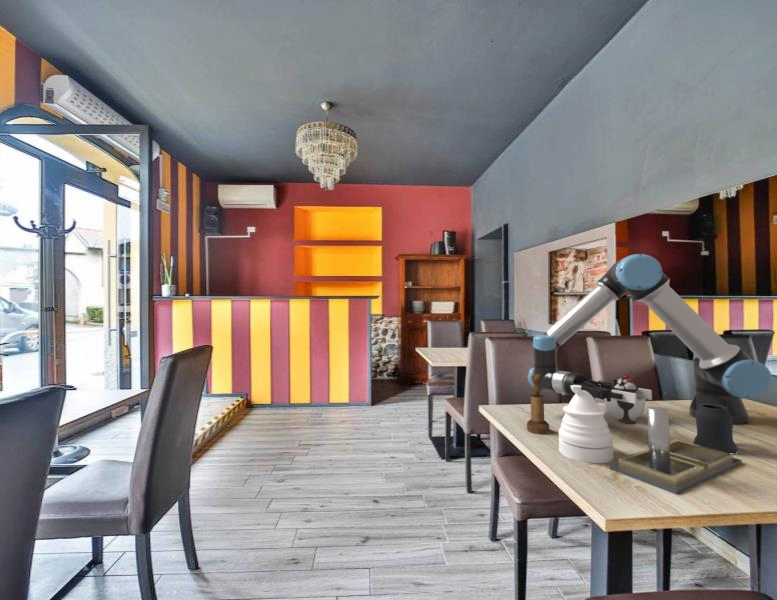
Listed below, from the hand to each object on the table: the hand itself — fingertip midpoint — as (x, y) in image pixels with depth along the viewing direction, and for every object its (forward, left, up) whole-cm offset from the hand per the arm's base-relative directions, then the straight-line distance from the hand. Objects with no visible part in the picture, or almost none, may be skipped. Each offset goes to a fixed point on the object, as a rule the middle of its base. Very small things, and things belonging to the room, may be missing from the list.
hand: (643, 396), depth 103 cm
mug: (-15, +10, -14) cm, 23 cm away
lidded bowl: (-21, -18, -14) cm, 31 cm away
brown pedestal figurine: (+15, -24, -14) cm, 31 cm away
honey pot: (+19, -5, -14) cm, 24 cm away
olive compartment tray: (+8, +11, -14) cm, 19 cm away
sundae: (0, -5, -9) cm, 10 cm away
